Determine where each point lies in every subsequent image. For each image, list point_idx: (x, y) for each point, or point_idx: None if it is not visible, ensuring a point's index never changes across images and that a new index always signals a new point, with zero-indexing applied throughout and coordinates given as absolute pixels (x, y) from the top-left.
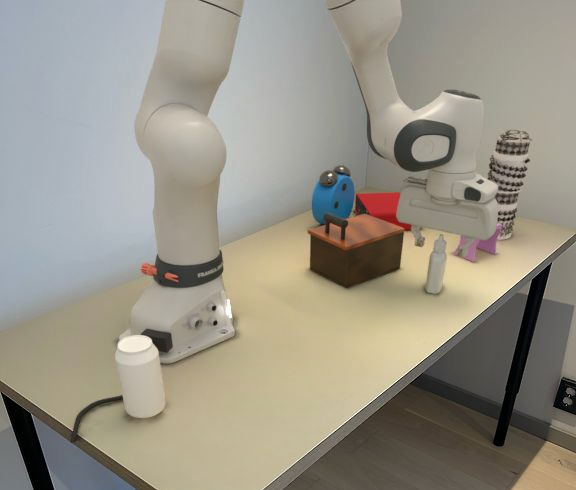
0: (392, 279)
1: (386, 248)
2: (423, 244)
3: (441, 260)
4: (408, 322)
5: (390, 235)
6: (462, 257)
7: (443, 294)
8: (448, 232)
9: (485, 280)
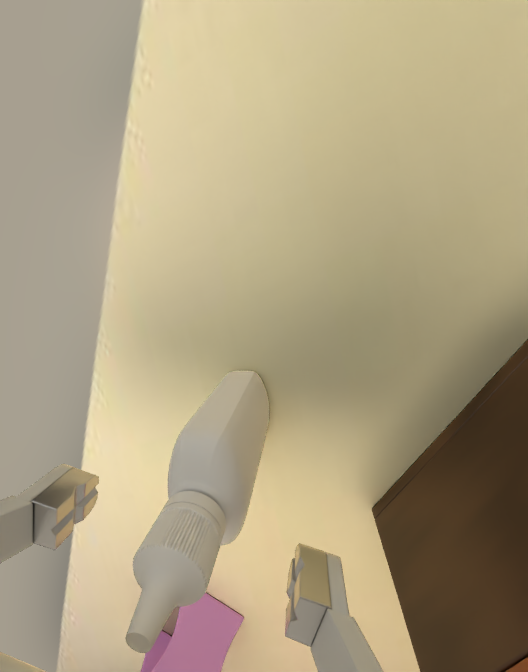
0: (382, 434)
1: (484, 559)
2: (290, 572)
3: (178, 441)
4: (267, 134)
5: (524, 667)
6: (217, 601)
7: (212, 379)
8: (8, 660)
9: (136, 489)
